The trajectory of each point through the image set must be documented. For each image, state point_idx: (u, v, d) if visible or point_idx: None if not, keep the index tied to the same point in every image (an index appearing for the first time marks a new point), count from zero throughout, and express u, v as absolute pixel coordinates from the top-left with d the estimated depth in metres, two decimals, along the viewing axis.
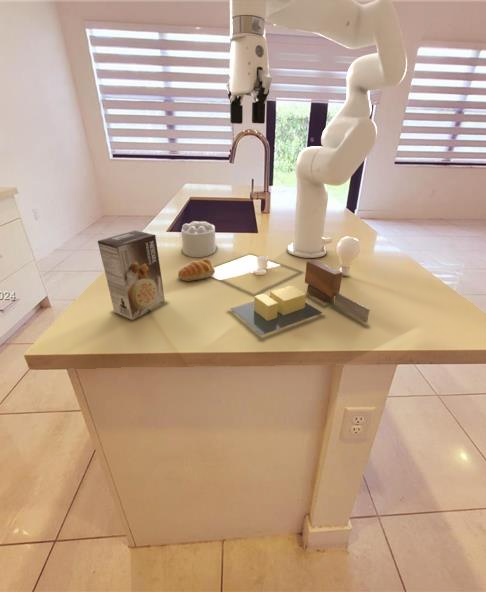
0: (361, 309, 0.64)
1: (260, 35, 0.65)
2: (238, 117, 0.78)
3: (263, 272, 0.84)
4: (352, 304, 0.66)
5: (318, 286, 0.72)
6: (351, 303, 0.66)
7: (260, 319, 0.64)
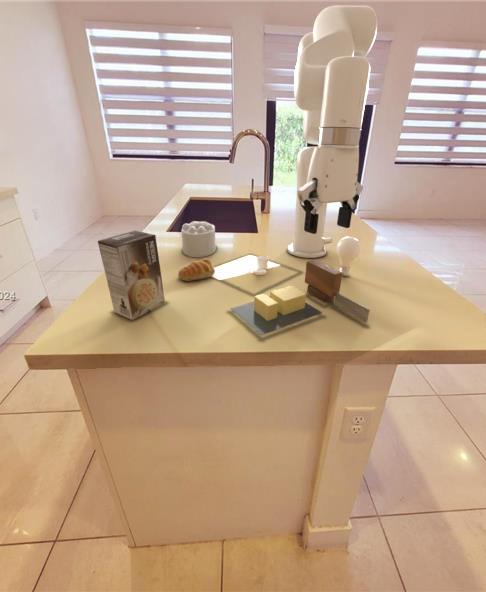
0: (361, 309, 0.64)
1: None
2: None
3: (263, 272, 0.84)
4: (352, 304, 0.66)
5: (318, 286, 0.72)
6: (351, 303, 0.66)
7: (260, 319, 0.64)
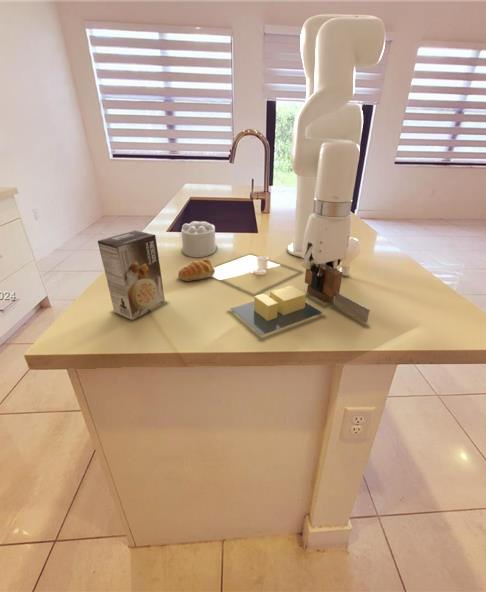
0: (361, 309, 0.64)
1: None
2: None
3: (263, 272, 0.84)
4: (352, 304, 0.66)
5: None
6: (351, 303, 0.66)
7: (260, 319, 0.64)
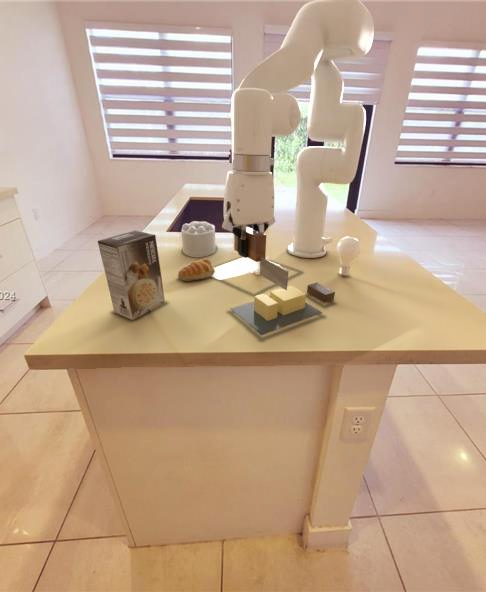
0: (281, 272, 0.60)
1: None
2: None
3: None
4: (274, 268, 0.62)
5: None
6: (273, 266, 0.62)
7: (260, 319, 0.64)
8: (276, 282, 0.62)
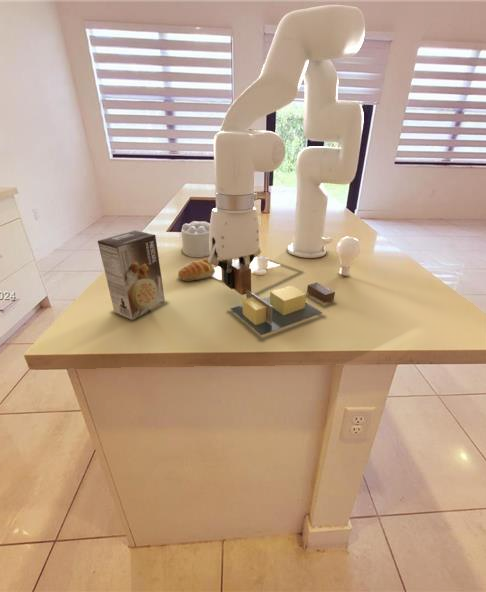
0: (266, 306, 0.62)
1: None
2: None
3: (263, 272, 0.84)
4: None
5: None
6: (258, 300, 0.64)
7: None
8: None
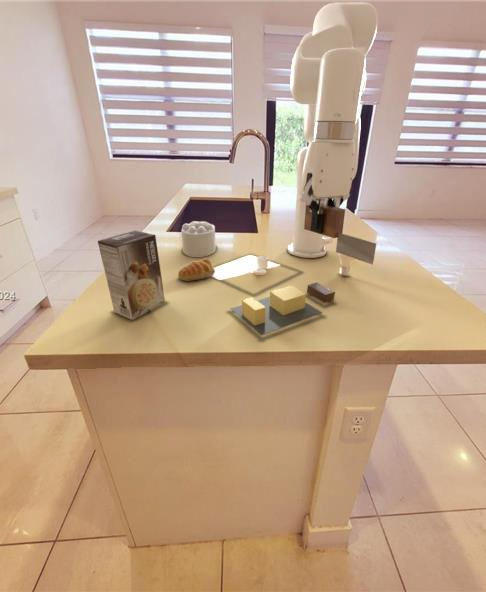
0: (367, 245, 0.58)
1: None
2: None
3: (263, 272, 0.84)
4: (356, 242, 0.59)
5: None
6: (355, 241, 0.59)
7: None
8: (359, 257, 0.60)
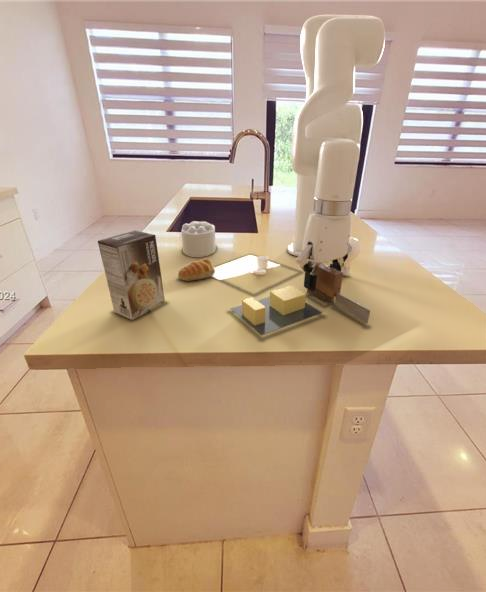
0: (362, 310, 0.64)
1: None
2: None
3: (263, 272, 0.84)
4: (353, 305, 0.66)
5: (318, 287, 0.72)
6: (352, 303, 0.66)
7: None
8: None
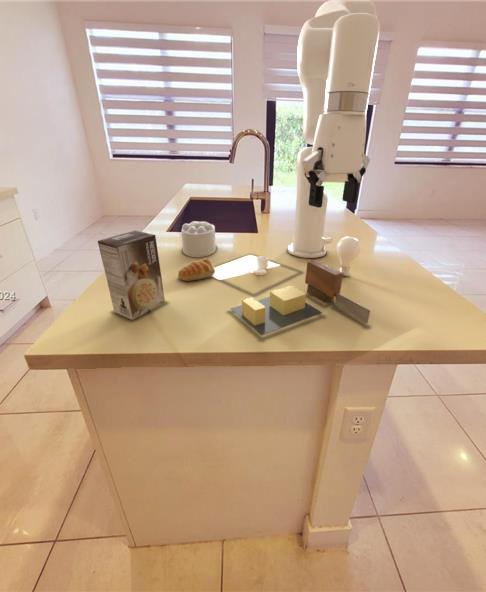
0: (362, 310, 0.64)
1: None
2: None
3: (263, 272, 0.84)
4: (353, 305, 0.66)
5: (318, 287, 0.72)
6: (352, 303, 0.66)
7: None
8: None
